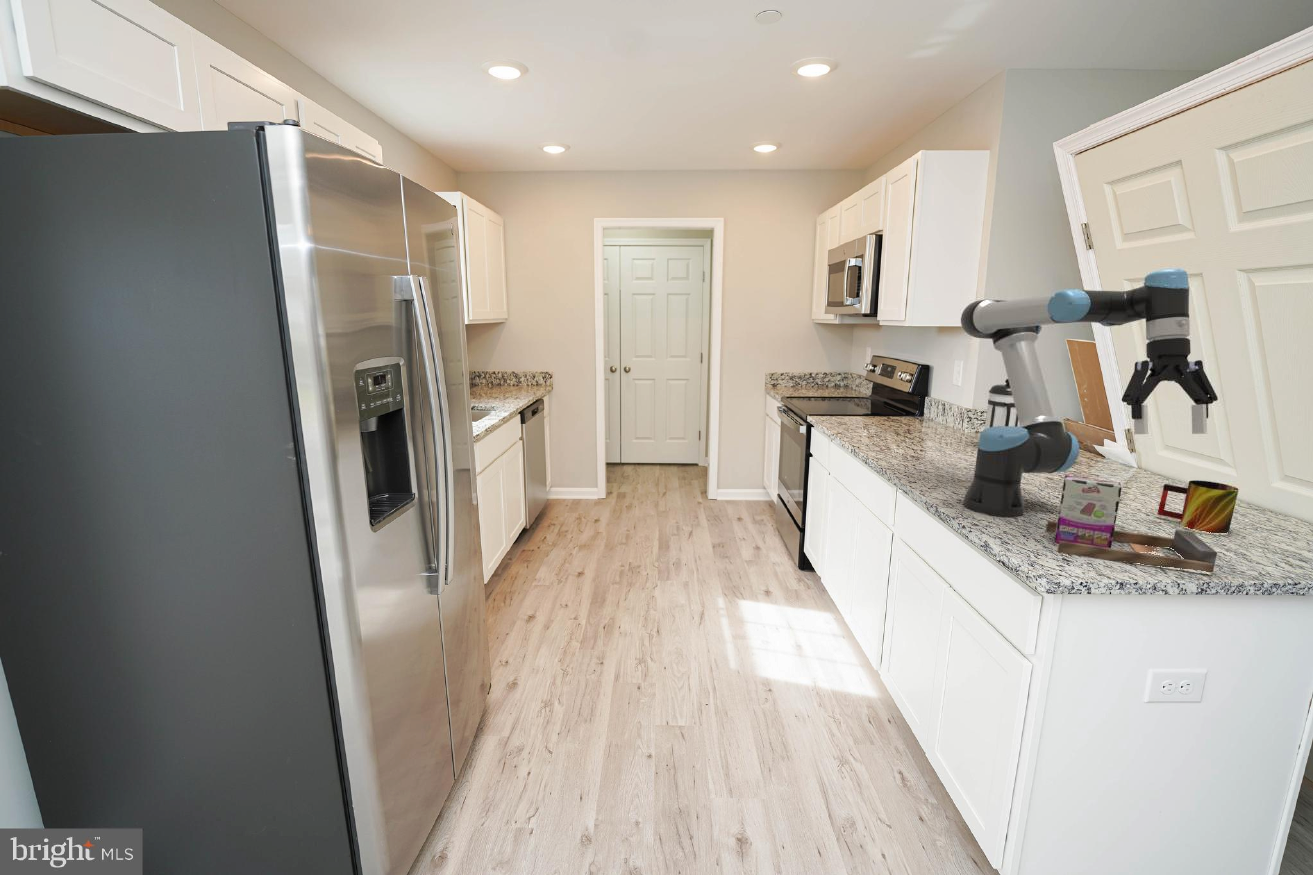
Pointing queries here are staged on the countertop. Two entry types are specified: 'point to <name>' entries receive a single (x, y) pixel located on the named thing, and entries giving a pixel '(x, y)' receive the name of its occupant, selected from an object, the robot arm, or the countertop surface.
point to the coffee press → (1001, 407)
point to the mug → (1203, 505)
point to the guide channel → (1148, 549)
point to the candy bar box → (1088, 511)
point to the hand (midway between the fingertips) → (1170, 434)
